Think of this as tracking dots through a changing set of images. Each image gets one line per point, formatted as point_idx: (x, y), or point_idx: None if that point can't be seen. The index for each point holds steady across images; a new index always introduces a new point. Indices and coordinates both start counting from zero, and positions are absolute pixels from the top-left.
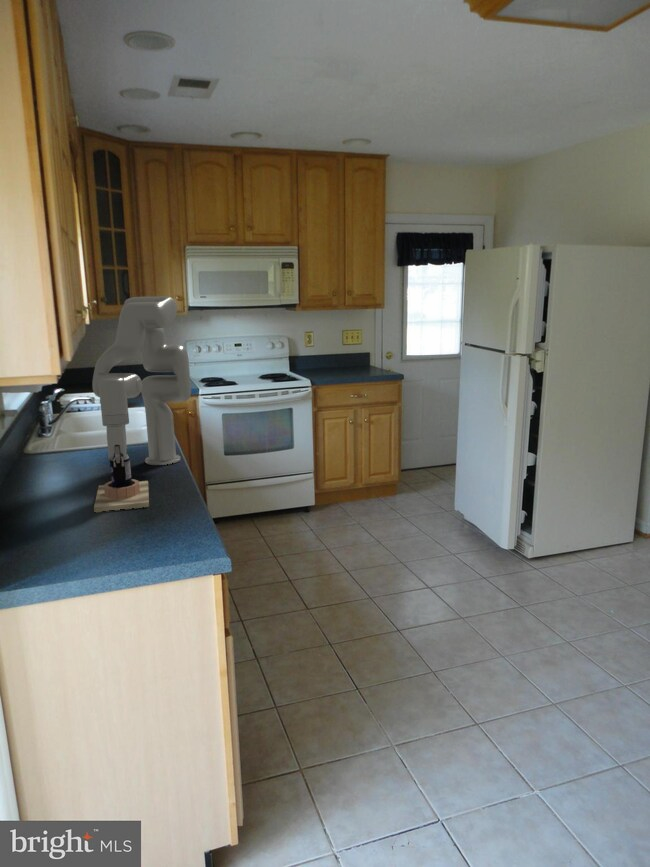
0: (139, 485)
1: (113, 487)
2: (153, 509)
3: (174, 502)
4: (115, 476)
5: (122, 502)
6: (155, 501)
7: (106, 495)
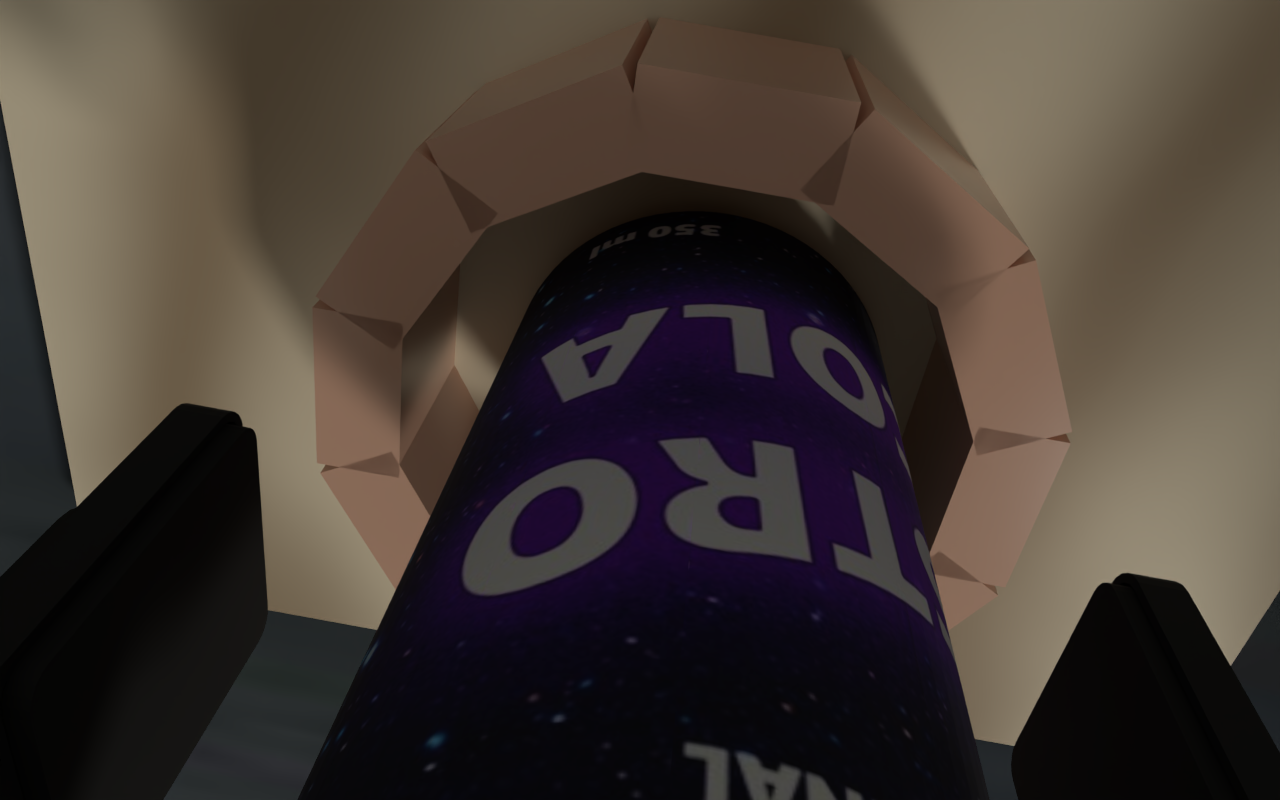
0: (986, 640)
1: (610, 264)
2: (24, 551)
3: (233, 764)
4: (145, 476)
5: (149, 266)
6: (339, 631)
7: (581, 51)
